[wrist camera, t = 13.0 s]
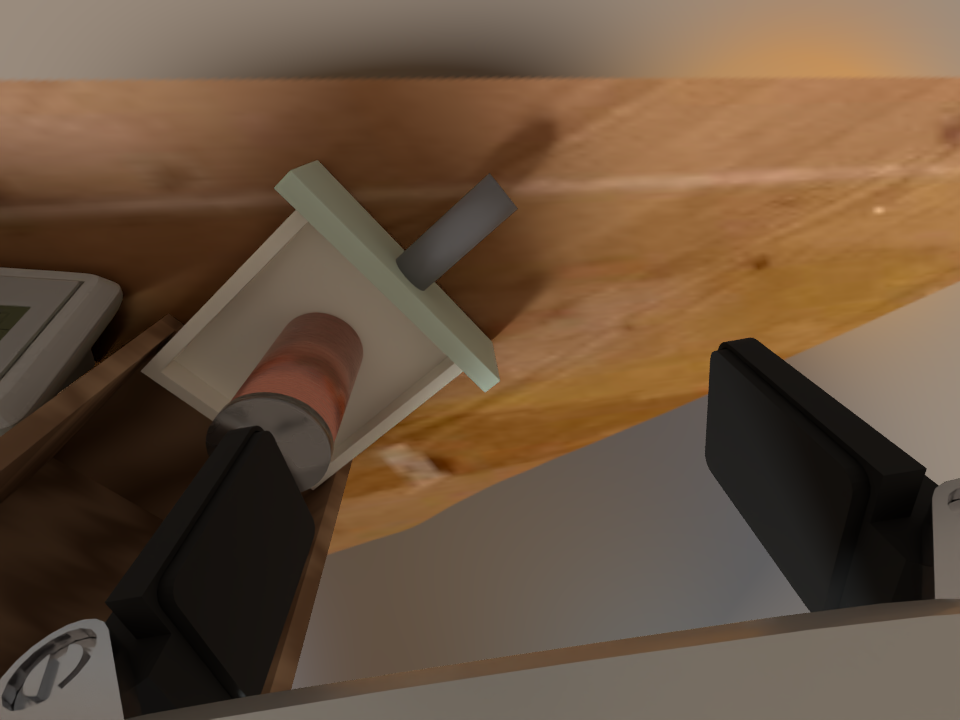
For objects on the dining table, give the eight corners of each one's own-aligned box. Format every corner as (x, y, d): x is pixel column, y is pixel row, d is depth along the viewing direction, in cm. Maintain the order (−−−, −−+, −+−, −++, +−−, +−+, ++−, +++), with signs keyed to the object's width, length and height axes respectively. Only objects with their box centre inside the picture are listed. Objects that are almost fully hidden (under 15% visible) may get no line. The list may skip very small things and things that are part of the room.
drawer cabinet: (42, 448, 35) (-463, 870, 16) (168, 313, 31) (-305, 659, 11) (227, 554, 41) (34, 949, 22) (353, 454, 37) (253, 831, 18)
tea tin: (317, 293, 28) (257, 379, 20) (382, 353, 31) (354, 454, 22) (260, 346, 30) (180, 449, 21) (325, 399, 32) (278, 512, 23)
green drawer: (154, 333, 31) (102, 373, 26) (405, 66, 25) (395, 56, 20) (336, 466, 37) (320, 518, 32) (572, 277, 31) (596, 307, 26)
